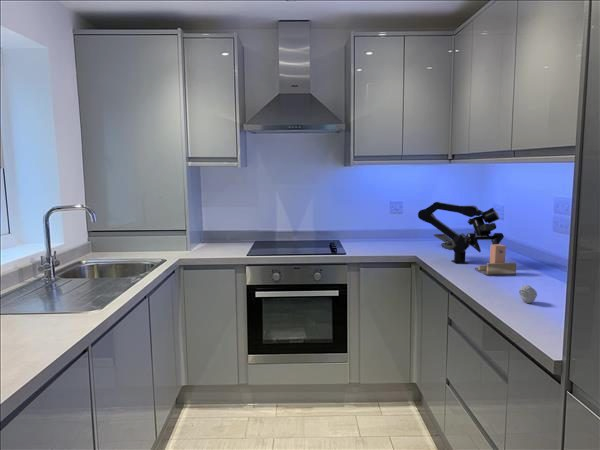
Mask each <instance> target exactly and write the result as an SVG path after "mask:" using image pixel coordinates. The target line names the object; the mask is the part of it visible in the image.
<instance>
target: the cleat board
mask: <svg viewBox="0 0 600 450" xmlns="http://www.w3.org/2000/svg"><path fill="white" fill-rule="evenodd" d="M474 271H476V272H478V273H480V274H482V275H484V276H487V277H497V276H500V277H502V276H503V277H505V276H507V277H509V276H516V273H517V262H505V263H490V262H487V263H486V265H482V264H481V265H478V266H477V267H474Z"/></svg>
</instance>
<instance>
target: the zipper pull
mask: <svg viewBox="0 0 600 450" xmlns="http://www.w3.org/2000/svg"><path fill="white" fill-rule="evenodd" d="M433 237H435V238H437V239H438V240H441V241H442V242H441V245H440V246H442V247H441V248H443V249H444V250H447V249H448V251H454V250H453V248H454V247H455V246H456V244H455V243H454V242H453V240H452V239H451V238H449V237H448V236H447V235H445V234H444V233H435V234H433Z"/></svg>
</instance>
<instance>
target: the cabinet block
mask: <svg viewBox="0 0 600 450" xmlns="http://www.w3.org/2000/svg"><path fill="white" fill-rule="evenodd" d="M506 248H507V246H506V245H503V244H501V243H499V244H492V243H491V244H490V249H489V250H490V251H489V263H506V253H507V252H506V251H507V249H506Z"/></svg>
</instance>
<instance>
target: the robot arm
mask: <svg viewBox="0 0 600 450" xmlns="http://www.w3.org/2000/svg"><path fill="white" fill-rule="evenodd" d="M437 210H439V211H441V210H442V211H446V212H451V213H458V214H461V215H463V216H465V217H469V219H468V220H467V224H469V225H470V226H471V225H472V227H473V229H474V231H473V232H470V233H467V234H464V233H463V232H462V233H457V232H456V231H455V230H453V229H451V228H450V226H447V224H445V223H443V222H442V221H441V220H439V219H438V218H437V217H436V216H435V215H434V213H435V212H436V211H437ZM417 217H418V219H420V220H421V221H423V222H425V223H427V224H430V225H432V227H435V228H436V229H437V230H438V231H440V232H441V233H442V234H445V235H446V236H447V237H449V238H450V239H451V240H453V242H454V243H455V244H456V246H455V247H454V248H453V250H452V251H453V252H454V255H453V258H454V259H452V260H451V262H453V263H455V264H468V262H467V261H466V251H467V249H468V248H469V247H472V248H474V249H475V250H476V251H477V252H479V253H481V252H482V250H481V247H480V244H479V242H478V241H479V240H480V241H491V244H501V241H502V240H503V239H504V237H505V236H504V233H502V232H494V233H493V235H491V234H492V231H495V230H496V229H497V224H496V223H495V222H497V221H499V220H500V216H499V214H498V213H497V211H496V209H495V208H494V207H490V208H489V209H488V210H485V211H483V210H481V209H479V208H478V207H477V206H476V205H458V204H453V203H447V202H446V203H445V202H441V201H435V202H433V203H432V204H431V205H428V207H426V208H424V209H420V210H419V211H418V212H417Z"/></svg>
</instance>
